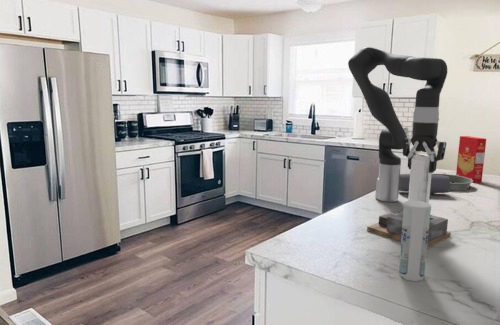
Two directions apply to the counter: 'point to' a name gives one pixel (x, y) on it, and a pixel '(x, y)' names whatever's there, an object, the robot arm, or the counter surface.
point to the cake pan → (458, 182)
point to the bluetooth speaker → (437, 183)
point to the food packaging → (471, 158)
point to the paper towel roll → (420, 178)
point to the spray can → (414, 239)
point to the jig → (393, 228)
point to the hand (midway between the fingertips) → (421, 170)
